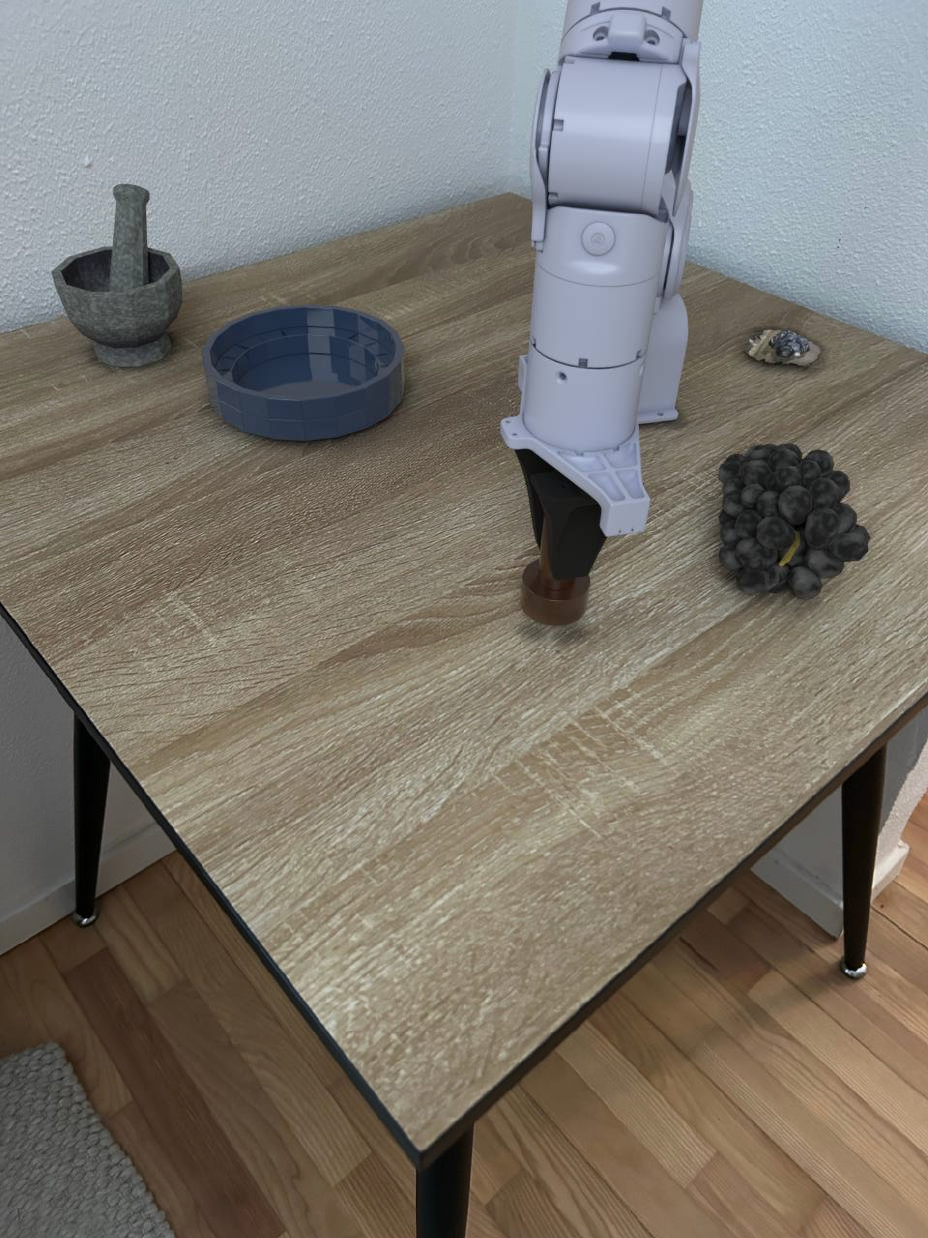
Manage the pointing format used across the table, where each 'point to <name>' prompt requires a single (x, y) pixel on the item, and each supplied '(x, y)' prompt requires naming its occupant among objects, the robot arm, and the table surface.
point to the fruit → (786, 520)
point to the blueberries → (783, 348)
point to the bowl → (304, 371)
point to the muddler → (552, 591)
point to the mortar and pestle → (123, 289)
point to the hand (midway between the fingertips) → (561, 559)
